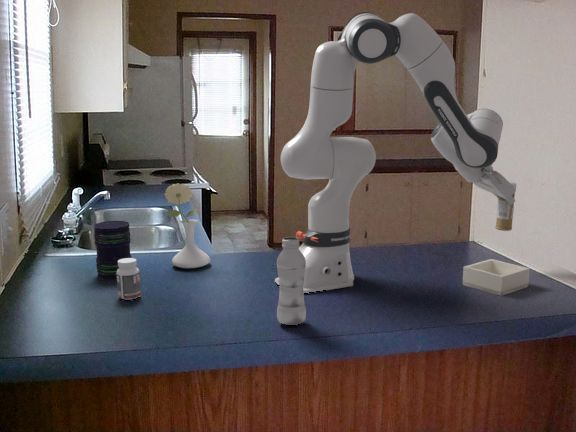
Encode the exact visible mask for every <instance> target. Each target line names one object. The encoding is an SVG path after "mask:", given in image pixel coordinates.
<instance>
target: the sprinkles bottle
mask: <svg viewBox="0 0 576 432" xmlns="http://www.w3.org/2000/svg"><path fill="white" fill-rule="evenodd" d="M508 182H509V183H510V184H511V185H512V186H513V187H514V188H515V190H516V191H517V183H516V182H514V181H508ZM515 196H516V192H515V193H514V194H513V195H512V197H513V198H514V199H515ZM497 199H498V200H497V207H496V208H497V209H496V221H495V229H496V230H498V231H503V232H510V231H512V230H513V218H514V208H515V202H514V203H513V204H512V205H511V204H508V203H507V202H506V201H505V199H504V198H502V197H500V196H499V198H497Z"/></svg>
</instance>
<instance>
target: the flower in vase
mask: <svg viewBox="0 0 576 432" xmlns="http://www.w3.org/2000/svg"><path fill="white" fill-rule="evenodd" d="M163 195H164V196H165V199H166V200H167V202H168V203H170V204H174V205H177V206H178V210H177V209H172V210H170V211H168V213H167V214H166V216H168V217H169V216H170V217H174V218H177V217H179V216H180V215H181V216H182V217H183V218H184V219H183V220H181V221H180V223H181V224H182V226H183V228H184V232H185V237H186V238H185V240H186V242H185V244H184V245H185V246H184V247H183V248H182V249H181V250H180V251H178V252H177V253H176V255H174V256H173V257H172V260H171V264H172V265H173V266H175V267H177V268H181V269H197V268H202V267H204V266H207V265H208V264H210V262H211V258H210V256H209V255H208V254H207V253H206V252H204V251H203V250H202V249H200V248H199V247H198V246H197V245H196V243H195V238H194V237H195V235H194V234H195V228H196V225H197V223H198V221H199V220H198V219H195V218H192V219H189V217H191V216H193V215H194V214H196V213H197V211H198V208H195V209H194V210H191V211H189V212H187V214H186V215H185V214H184V213H183V212H182V209H181V205H182V204H186V203H188V202H190V199H191V198H192V196H193V192H192V190H191V188H190V186H189V185H185V184H184V183H181V184H180V183H178V182H177V183H176V184H175V183H173V184H171V185H169V186H168V187H167V188H166V190H165V193H163Z"/></svg>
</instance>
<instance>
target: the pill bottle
mask: <svg viewBox="0 0 576 432" xmlns="http://www.w3.org/2000/svg"><path fill="white" fill-rule="evenodd" d="M137 265H138V262H137V259H136V258H134V257H132V258H124V259H120V260H118V266H119V269H118V270H117V280H116V284H117V297H119V298H123V299H132V298H137V297H142V292H141V289H142V288H141V279H140V278H141V277H140V276H141V275H140V269H139V268H138V267H137ZM119 298H118V299H119Z"/></svg>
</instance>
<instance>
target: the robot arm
mask: <svg viewBox="0 0 576 432" xmlns="http://www.w3.org/2000/svg"><path fill="white" fill-rule="evenodd" d="M393 56H395V57H396V58H397V59H398V60H399V61H400V62H401V64H402V65H403V66H404V67H405V69H406V70H407V71H408V73H409V74H410V75H411V77H412V78H413V80H414V81H415V83H416V84H417V85H418V87H419V89H420V90H421V92H422V94H423V96H424V98H425V100H426V101H427V103H428V106H429V107H430V109H431V110H432V112H433V113H434V115H435V117H436V118H437V120H438V121H439V122H438V123H437V124H436V125H435V127H434V128H433V130H432V132H431V135H430V140H431V143H432V144H433V146H434V147H435V149H436V151H438V152H439V154H441V156H442V157H443V158H444V159H445V160H446V161H448V162H449V163H451V165H453V167H454V169H455V171H457V172H458V174H459V175H460V176H461V177H463V179H465V181H466V182H467V183H473V184H474V185H475V186H476V187H477V188H479V189H482V190H483V191H486V192H487V193H488V192H489V193H491V194H492V195H494V196H495V197H497V199H498V198H499V196H500V197H502V198H504V199H505V201H506V202H507V203H508V204H511V205H512V204H513V203H514V204H515V202H516V199H515V197H514V198H513V197H512V195H513V194H514V193H515V194H516V192H517V189H516V190H515V188H514V187H513V186H512V185H511V184H510V183H509V182H510V181H509V180H507V179H506V177H505V176H503V174H501V173H500V172H499V171H497V170H494V167H493V164H494V163H495V162H496V160H497V158H498V153H499V144H500V141H501V137H502V131H503V127H504V126H503V125H504V121H503V119H502V117H501V115H499V114H498V113H497V112H496V111H495V110H492V109H489V108H480V109H476V110H474V111H473V112H471V113H468V114H467V113H466V111H465V110H464V109H463V107H462V105H461V104H460V102H459V100H458V97H457V93H456V84H455V83H456V82H455V80H456V77H455V76H456V62H455V59H454V56H453V55H452V53H451V51H450V49H449V47H448V46H447V45H446V43H445V42H444V41H443V39H442V38H441V37H440V36H439V34H438V33H437V32H436V31H435V29H433V27H432V26H431V25H430V24H429V23H428V22H426V21H425V19H423V18H422V17H421V16H420V15H419V14H416V13H412V12H411V13H406V14H402V15H400V16H399V17H398V18H397V19H395V20H394V21H393V20H392V22H391V21H390V22H387V21H385V20H384V19H383V18H381V17H380V16H378V15H376V14H375V13H372V12H366V11H365V12H364V11H363V12H360V13H359V12H358V13H356V14H355V15H353V16H352V17H351V18H350V19H348V21H347V22H346V24H345V26H344V28H343V29H342V31H341V32H340V34H339V35H338V37H337V40H333V41H332V40H330V41H325V42H323V43H322V44H320V45H318V47H317V48H316V50H315V53H314V57H313V61H312V69H311V73H310V74H311V75H310V93H309V104H308V113H307V116H306V119H305V122H304V124H303V126H302V127H301V129H300V130H299V132H297V134H296V135H295V136H294V137H293V138H292V139H290V140H289V141H288V142H286V143H285V144H284V146H283V148H282V149H281V153H280V164H281V168H282V170H283V172H284V173H285V174H286V175H287V176H288V177H289V178H294V179H298V180H299V179H301V180H305V181H306V180H323V179H324V180H326V179H329V180H328V183H327V185H326V186H325V187H324V188H323V189H322V190H320V191H318V192H317V193H315V194H314V195H312V197H311V198H310V199H309V202H308V204H307V206H308V207H307V209H308V210H307V211H308V212H307V218H308V219H307V220H308V222H307V223H308V227H307V228H306V231H305V232H302V231H300V230H298V231H297V232H296V234H295V237H297V238H299V240H302V244H301V245H300V247H299V250H300V251H301V253H302V254H303V255H304V257H305V260H306V266H305V274H304V284H303V293H308V294H310V293H309V292H314V293H317V292H316V291H320V292H324V291H323V290H326V291H330V290H335V289H336V290H337V289H341V288H348V287H353V286H354V280H355V275H354V272H353V267H352V261H351V255H350V254H351V253H350V242H351V228H350V226H349V223H350V208H351V207H350V206H351V200H352V196H353V194H354V191H355V190H356V188H357V186H358V185H359V184H360V182H361V181H362V180H363V179H364V178H365V177H366V176H367V175H369V174H370V173H371V172H372V171H373V168H374V167H375V166H376V165H375V164H376V159H377V154H376V150H375V148H374V146H373V144H372V142H370V141H369V140H368V139H367V138H362V137H361V138H360V137H355V136H338V137H337V136H336V137H335V136H334V137H331V134H332V132H334V130H335V129H337V128H338V127H340V126H342V125H344V124H345V123H346V122H348V121H349V119H350V118H351V116H352V115H353V114H352V113H353V101H354V88H355V87H354V85H355V73H356V69H357V67H358V65H359V63H363V64H368V65H369V64H370V65H372V64H376V63H380V62H382V61H384V60H386V59H388V58H391V57H393ZM275 282H276V283H277V284H278V285H279V276H278V277H276V278H274V283H275Z"/></svg>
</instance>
